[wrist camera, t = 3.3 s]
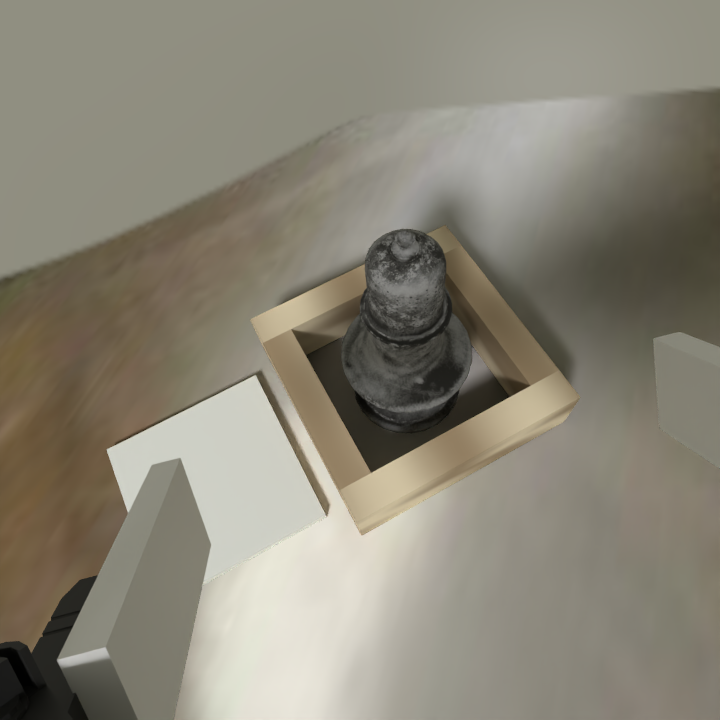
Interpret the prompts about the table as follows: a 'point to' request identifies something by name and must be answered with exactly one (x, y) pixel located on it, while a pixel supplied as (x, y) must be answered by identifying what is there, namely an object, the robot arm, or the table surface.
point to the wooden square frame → (451, 449)
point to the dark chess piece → (406, 336)
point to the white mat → (228, 473)
